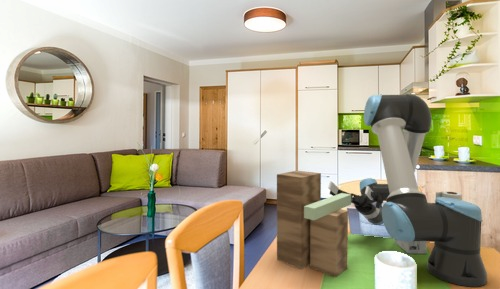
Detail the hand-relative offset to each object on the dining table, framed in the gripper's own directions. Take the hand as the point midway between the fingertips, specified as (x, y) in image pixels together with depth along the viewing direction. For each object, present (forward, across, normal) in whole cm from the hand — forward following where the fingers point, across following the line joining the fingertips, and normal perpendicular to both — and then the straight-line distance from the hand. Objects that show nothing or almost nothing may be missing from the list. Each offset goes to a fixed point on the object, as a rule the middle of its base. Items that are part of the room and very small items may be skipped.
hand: (347, 187), depth 103 cm
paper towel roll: (-39, -26, -6) cm, 47 cm away
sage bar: (+9, 0, -12) cm, 15 cm away
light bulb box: (-31, -15, -11) cm, 36 cm away
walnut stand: (0, +6, -28) cm, 29 cm away
